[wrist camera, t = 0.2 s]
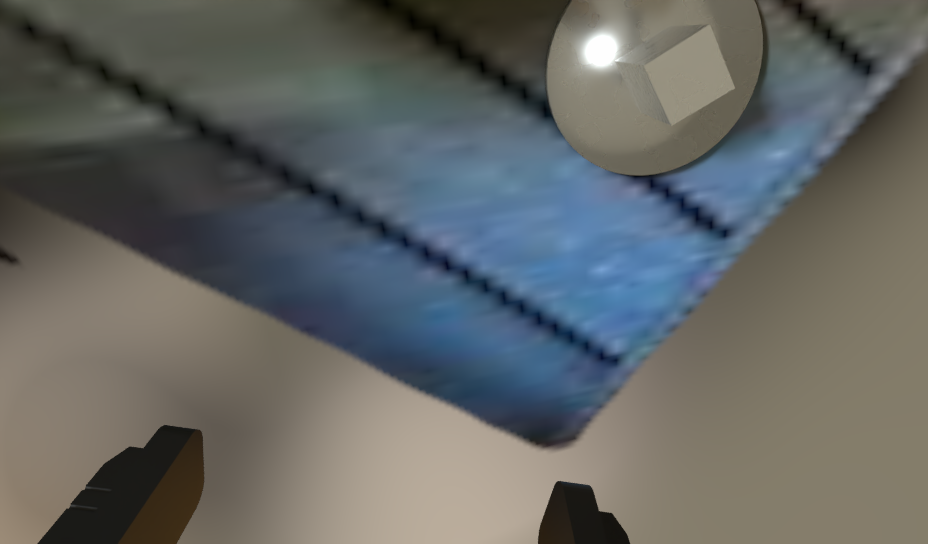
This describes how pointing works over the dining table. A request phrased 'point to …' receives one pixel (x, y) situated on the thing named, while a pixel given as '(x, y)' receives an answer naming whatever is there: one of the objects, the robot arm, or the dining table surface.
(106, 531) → the robot arm
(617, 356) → the dining table surface
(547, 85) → the duct stub
